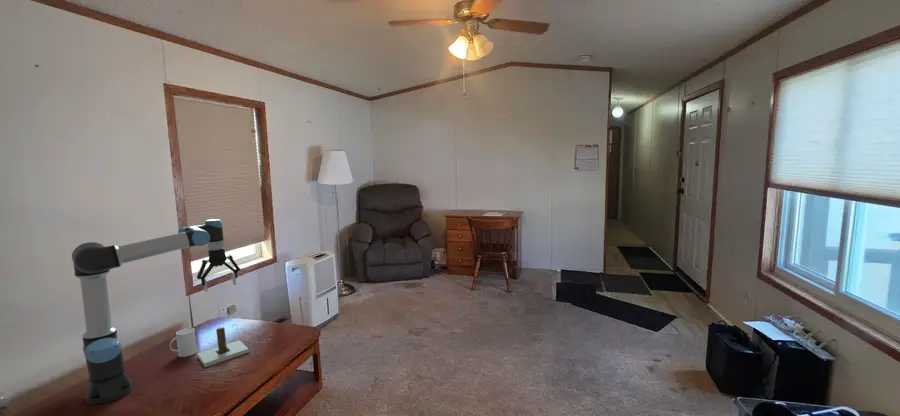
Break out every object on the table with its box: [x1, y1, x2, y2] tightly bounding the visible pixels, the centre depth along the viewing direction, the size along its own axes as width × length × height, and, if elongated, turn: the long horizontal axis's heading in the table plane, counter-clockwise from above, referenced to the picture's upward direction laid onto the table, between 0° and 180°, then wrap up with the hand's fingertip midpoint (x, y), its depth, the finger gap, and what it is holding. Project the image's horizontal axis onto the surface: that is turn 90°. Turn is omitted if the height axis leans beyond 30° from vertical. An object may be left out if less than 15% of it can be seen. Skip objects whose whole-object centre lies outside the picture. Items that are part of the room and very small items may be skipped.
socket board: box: [196, 339, 250, 368], centre depth 208 cm, size 20×14×2 cm
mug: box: [169, 327, 198, 358], centre depth 209 cm, size 12×8×12 cm
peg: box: [215, 327, 228, 355], centre depth 207 cm, size 4×4×14 cm
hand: (220, 287), depth 216 cm, fingers open, 13 cm apart
